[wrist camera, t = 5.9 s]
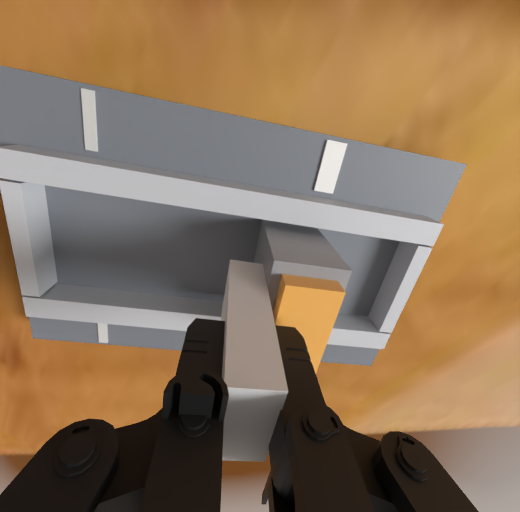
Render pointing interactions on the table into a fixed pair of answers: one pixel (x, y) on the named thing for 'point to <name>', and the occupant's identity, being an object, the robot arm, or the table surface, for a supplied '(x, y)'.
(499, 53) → the table surface
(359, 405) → the table surface
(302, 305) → the fader tab
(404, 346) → the table surface
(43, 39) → the table surface
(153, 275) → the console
